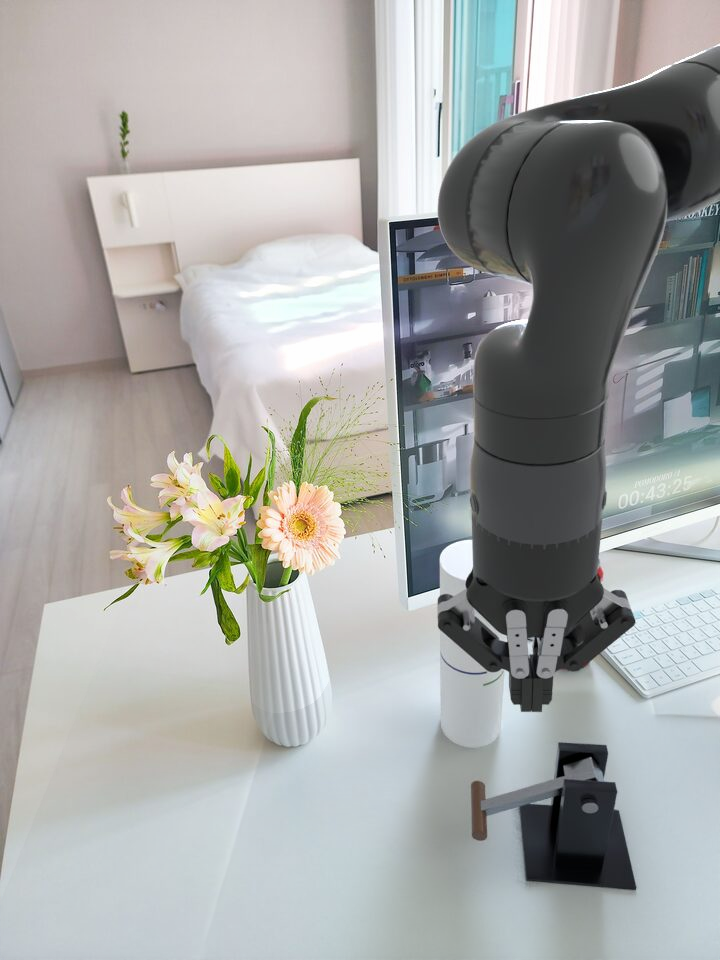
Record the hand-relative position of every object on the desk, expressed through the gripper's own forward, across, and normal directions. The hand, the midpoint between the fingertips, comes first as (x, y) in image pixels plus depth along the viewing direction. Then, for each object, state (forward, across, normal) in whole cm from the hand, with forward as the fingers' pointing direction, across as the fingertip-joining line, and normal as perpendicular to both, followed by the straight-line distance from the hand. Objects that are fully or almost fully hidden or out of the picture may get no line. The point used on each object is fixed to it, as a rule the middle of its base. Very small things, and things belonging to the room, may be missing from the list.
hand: (529, 702), depth 49 cm
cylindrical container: (+29, +4, -20) cm, 36 cm away
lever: (+21, -2, -6) cm, 22 cm away
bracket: (+29, -6, -6) cm, 30 cm away
